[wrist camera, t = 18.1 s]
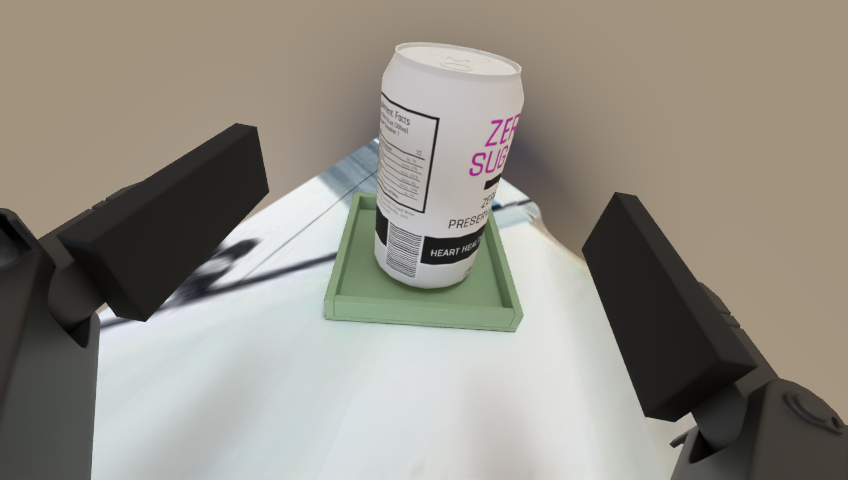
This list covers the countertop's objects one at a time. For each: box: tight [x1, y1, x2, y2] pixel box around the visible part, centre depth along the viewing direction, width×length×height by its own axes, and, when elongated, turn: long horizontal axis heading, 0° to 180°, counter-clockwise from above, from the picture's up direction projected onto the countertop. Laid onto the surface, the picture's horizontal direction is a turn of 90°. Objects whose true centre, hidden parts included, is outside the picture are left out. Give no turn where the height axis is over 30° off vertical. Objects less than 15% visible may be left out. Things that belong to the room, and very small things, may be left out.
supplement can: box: [374, 42, 524, 289], centre depth 23 cm, size 8×8×15 cm
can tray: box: [324, 192, 523, 332], centre depth 27 cm, size 13×13×2 cm
